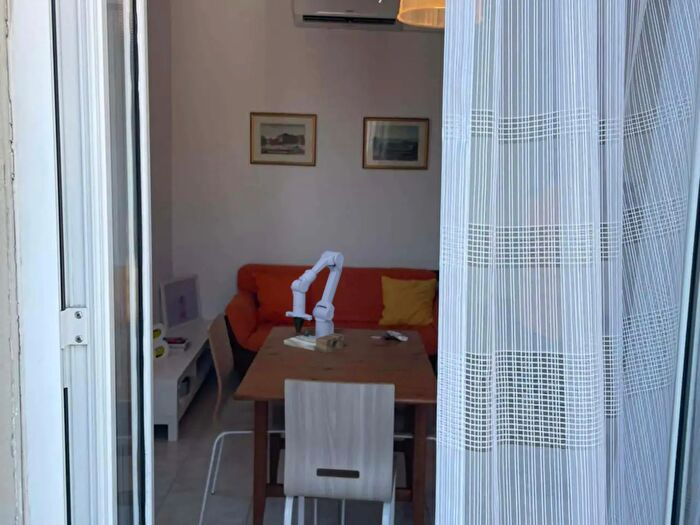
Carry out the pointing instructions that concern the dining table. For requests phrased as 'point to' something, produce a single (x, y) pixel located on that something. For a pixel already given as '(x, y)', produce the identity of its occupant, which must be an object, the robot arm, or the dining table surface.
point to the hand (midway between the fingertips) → (298, 332)
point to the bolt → (309, 337)
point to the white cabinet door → (318, 343)
